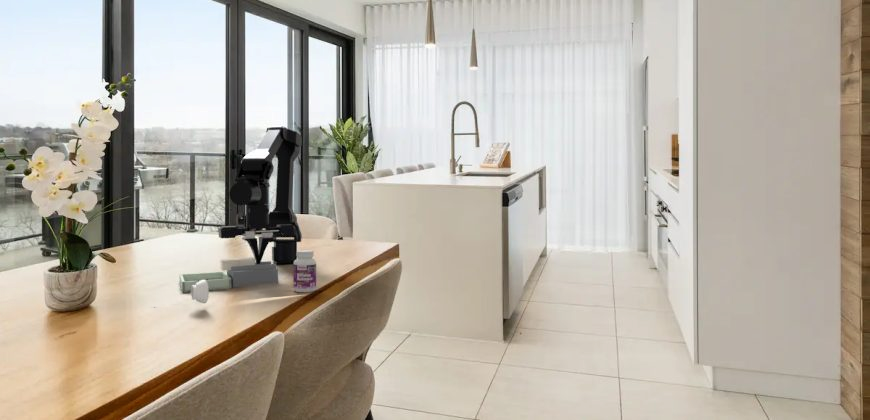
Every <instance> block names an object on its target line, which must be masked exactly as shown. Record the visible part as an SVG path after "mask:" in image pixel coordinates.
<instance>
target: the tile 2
mask: <svg viewBox="0 0 870 420" xmlns="http://www.w3.org/2000/svg"><path fill="white" fill-rule="evenodd" d="M236 258H237V259H239V266H249V265H255V262H256V261H255V258H254V256H253V257H251V256H250V257H236Z"/></svg>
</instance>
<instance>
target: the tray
mask: <svg viewBox="0 0 870 420" xmlns="http://www.w3.org/2000/svg"><path fill="white" fill-rule="evenodd" d="M207 279H208V280H207ZM198 280H199V281H201V280H206V282H207V284H208V290H209V292H210V291H221V290H231V289H232V285H231V278H230V277H229V276H228V275H227V272H225V271H214V272H213V271H212V272H210V271H209V272H198V273H195V272H194V273H183V274H179V286H180V290H181V292H182V293H191V287H192V285H195V284H196V283H197V282H199V281H198Z"/></svg>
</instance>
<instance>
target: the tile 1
mask: <svg viewBox="0 0 870 420" xmlns="http://www.w3.org/2000/svg"><path fill="white" fill-rule="evenodd" d="M237 258H238V257H233V258H231V257H230V258H220V259H219V263H220V265H219V266H220V270H221V272H225V271H227V270H231V267H233V266H239V259H237Z"/></svg>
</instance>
